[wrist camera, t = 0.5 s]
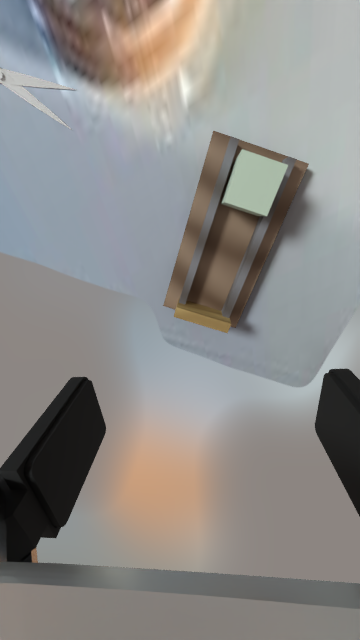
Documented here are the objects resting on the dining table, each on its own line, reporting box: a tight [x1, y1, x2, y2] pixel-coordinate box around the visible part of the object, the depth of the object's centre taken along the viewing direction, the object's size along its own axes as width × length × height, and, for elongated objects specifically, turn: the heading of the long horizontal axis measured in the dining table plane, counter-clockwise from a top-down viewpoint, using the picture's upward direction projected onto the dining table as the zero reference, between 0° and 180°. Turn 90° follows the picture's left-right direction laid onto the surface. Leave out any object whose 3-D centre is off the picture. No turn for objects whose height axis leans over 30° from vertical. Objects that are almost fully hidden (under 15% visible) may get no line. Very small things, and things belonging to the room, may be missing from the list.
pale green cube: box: [221, 149, 288, 216], centre depth 27 cm, size 5×5×5 cm
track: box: [163, 131, 309, 333], centre depth 31 cm, size 23×12×6 cm, turn 163°
